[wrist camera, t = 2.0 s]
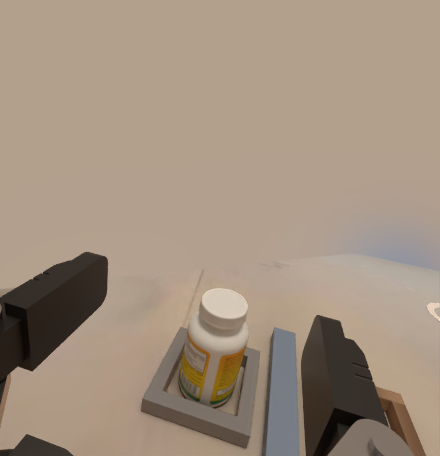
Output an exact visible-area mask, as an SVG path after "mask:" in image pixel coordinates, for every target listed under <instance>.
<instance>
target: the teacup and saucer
mask: <svg viewBox="0 0 440 456" xmlns="http://www.w3.org/2000/svg"><path fill="white" fill-rule="evenodd" d="M437 307H440V303H430V304H428V305H427V309H428V311H429V313H430V314H431V315H432V316H433V317H434V318H436V319H437V320H438V321H440V318H439V317H438V316H437V315H436V313H435V312H434V309H435V308H437Z"/></svg>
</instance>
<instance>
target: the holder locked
mask: <svg viewBox="0 0 440 456" xmlns="http://www.w3.org/2000/svg"><path fill="white" fill-rule="evenodd" d="M375 387H376V386H375ZM376 390H377V393H378V396H379V399H380V402H381V405H382V408H383V411H386V414H387V417H388V420H389V423H390V426H391V429H392V430H393V431H394V432H395V433H396V434H397V435H399V436H400V437H401V438H402V440H403V441H404V442H405V443H406V444H407V445H408V447H409V448H410V450H411V451H412V453H413V455H414V456H426V455H425V452H424V450H423V447H422V445H421V443H420V440H419V438H418V435H417V433H416V431H415V428H414V426H413V423H412V421H411V418H410V416H409V414H408V411H407V409H406V406H405V404H404V402H403V399H402V397H401V394H398V393H395V392H392V391H389V390H385V389H382V388H379V387H376Z"/></svg>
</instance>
